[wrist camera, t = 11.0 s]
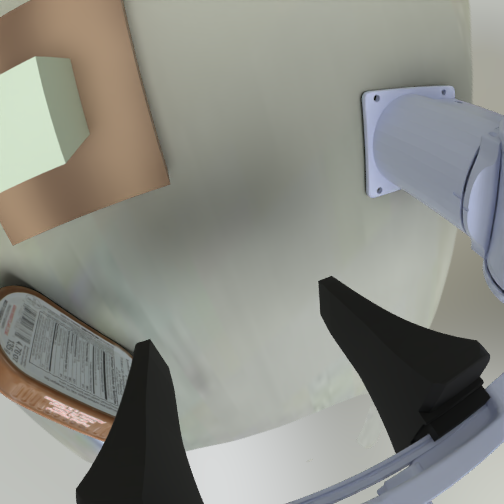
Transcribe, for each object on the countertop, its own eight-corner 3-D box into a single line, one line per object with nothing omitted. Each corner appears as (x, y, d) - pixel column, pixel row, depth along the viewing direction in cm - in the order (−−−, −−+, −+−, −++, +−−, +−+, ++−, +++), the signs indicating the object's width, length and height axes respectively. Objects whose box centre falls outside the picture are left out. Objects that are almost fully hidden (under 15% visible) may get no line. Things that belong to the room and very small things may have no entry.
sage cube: (70, 58, 11) (35, 56, 7) (89, 134, 13) (65, 163, 9) (0, 92, 10) (-52, 107, 6) (22, 162, 13) (-19, 202, 9)
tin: (-10, 284, 18) (-45, 373, 11) (7, 257, 17) (-34, 350, 11) (134, 374, 27) (144, 457, 20) (157, 358, 26) (170, 444, 19)
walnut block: (119, -20, 11) (113, -35, 9) (166, 166, 18) (170, 184, 16) (-32, 55, 10) (-58, 57, 8) (27, 221, 17) (12, 245, 15)
